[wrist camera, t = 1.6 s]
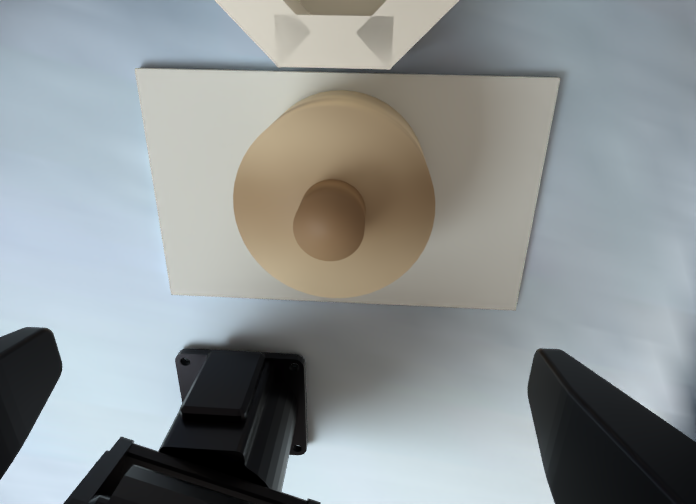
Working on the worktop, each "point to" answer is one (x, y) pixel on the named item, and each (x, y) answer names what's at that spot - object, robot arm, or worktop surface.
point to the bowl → (336, 29)
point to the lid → (335, 196)
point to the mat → (438, 148)
